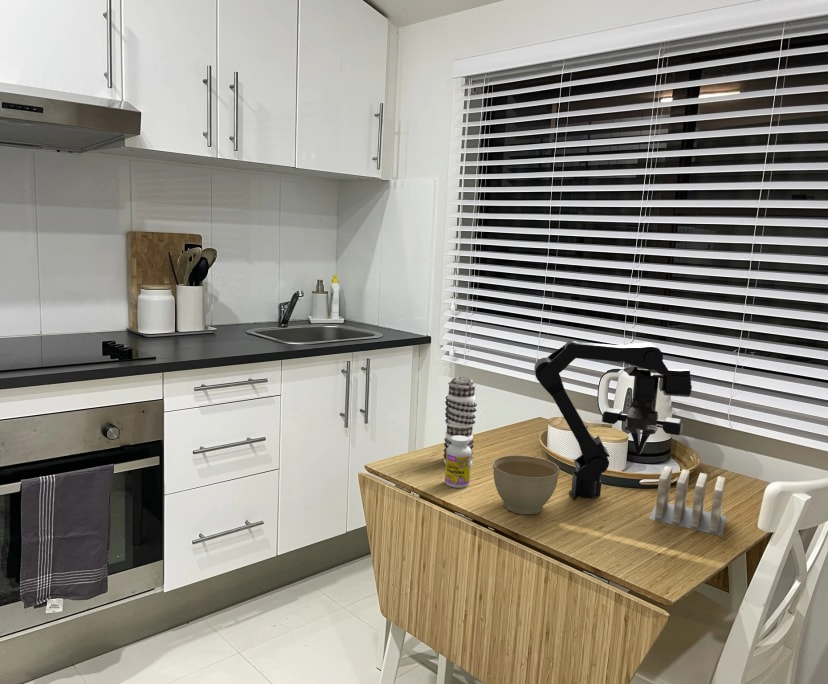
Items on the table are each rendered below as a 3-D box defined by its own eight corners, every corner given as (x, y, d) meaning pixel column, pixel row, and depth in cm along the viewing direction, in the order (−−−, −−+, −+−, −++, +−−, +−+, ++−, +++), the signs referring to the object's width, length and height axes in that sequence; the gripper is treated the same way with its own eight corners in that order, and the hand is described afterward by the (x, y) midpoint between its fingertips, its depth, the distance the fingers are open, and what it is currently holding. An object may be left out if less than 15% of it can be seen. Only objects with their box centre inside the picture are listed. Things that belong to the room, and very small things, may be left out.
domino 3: (690, 526, 153) (695, 485, 152) (695, 511, 162) (700, 472, 160) (698, 527, 152) (703, 487, 151) (702, 512, 161) (707, 474, 159)
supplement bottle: (441, 486, 174) (443, 439, 172) (449, 477, 180) (451, 432, 178) (465, 490, 171) (468, 443, 169) (472, 482, 177) (475, 436, 175)
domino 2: (672, 521, 155) (677, 481, 153) (678, 507, 164) (682, 469, 162) (679, 523, 154) (684, 483, 153) (685, 508, 163) (689, 470, 161)
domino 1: (654, 517, 157) (659, 478, 155) (661, 503, 166) (665, 465, 164) (661, 519, 156) (666, 479, 155) (668, 505, 165) (672, 467, 163)
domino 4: (709, 530, 151) (714, 489, 150) (713, 515, 160) (718, 476, 158) (716, 532, 151) (722, 490, 149) (720, 516, 159) (725, 477, 158)
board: (648, 522, 156) (648, 518, 156) (657, 504, 168) (657, 500, 168) (721, 540, 149) (722, 535, 149) (725, 519, 160) (726, 515, 160)
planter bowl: (568, 509, 162) (572, 467, 161) (530, 527, 151) (533, 482, 149) (516, 489, 174) (519, 450, 172) (476, 505, 162) (479, 463, 161)
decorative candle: (435, 460, 193) (439, 377, 189) (459, 454, 199) (464, 374, 195) (455, 469, 186) (460, 383, 182) (479, 464, 192) (484, 380, 188)
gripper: (599, 394, 161) (594, 455, 164) (680, 406, 152) (673, 470, 155) (609, 386, 171) (604, 443, 173) (686, 397, 162) (679, 457, 165)
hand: (638, 453), depth 166 cm, fingers closed
